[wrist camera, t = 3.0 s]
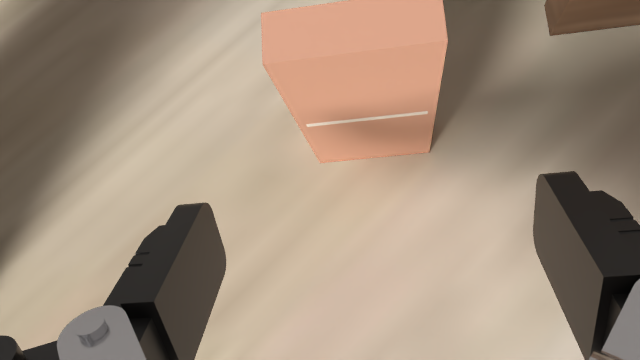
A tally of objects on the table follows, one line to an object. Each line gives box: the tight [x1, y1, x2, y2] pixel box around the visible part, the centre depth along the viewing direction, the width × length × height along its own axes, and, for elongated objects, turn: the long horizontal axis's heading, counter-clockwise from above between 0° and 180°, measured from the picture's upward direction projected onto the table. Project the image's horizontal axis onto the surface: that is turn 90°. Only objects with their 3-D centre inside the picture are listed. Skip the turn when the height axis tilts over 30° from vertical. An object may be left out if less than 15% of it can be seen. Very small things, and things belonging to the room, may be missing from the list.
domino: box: [261, 0, 448, 163], centre depth 19 cm, size 2×5×10 cm, turn 93°
